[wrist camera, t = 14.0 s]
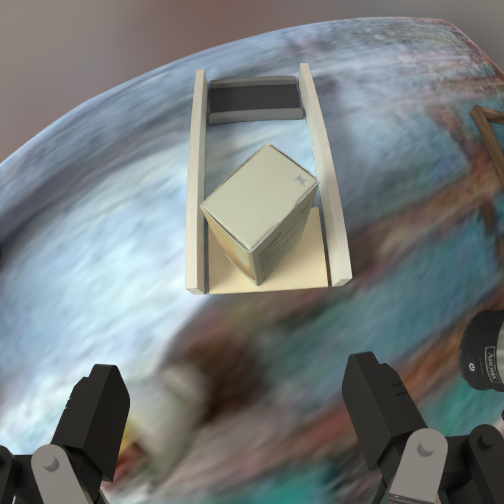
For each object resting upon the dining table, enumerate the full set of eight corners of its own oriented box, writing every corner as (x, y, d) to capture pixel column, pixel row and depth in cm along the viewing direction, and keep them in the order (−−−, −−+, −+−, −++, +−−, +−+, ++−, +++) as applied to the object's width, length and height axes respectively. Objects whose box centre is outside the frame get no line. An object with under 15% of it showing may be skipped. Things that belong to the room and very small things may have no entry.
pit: (210, 124, 34) (208, 118, 33) (211, 86, 36) (210, 80, 35) (302, 119, 34) (303, 112, 33) (294, 82, 36) (294, 75, 35)
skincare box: (268, 213, 30) (270, 136, 18) (302, 241, 29) (325, 177, 17) (222, 259, 29) (195, 203, 17) (255, 290, 28) (250, 253, 16)
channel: (194, 295, 29) (185, 288, 25) (200, 88, 36) (196, 69, 33) (342, 285, 28) (352, 278, 25) (305, 82, 36) (307, 63, 33)
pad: (210, 294, 28) (209, 293, 28) (209, 215, 31) (208, 213, 30) (327, 286, 28) (327, 286, 28) (317, 208, 31) (318, 207, 30)
